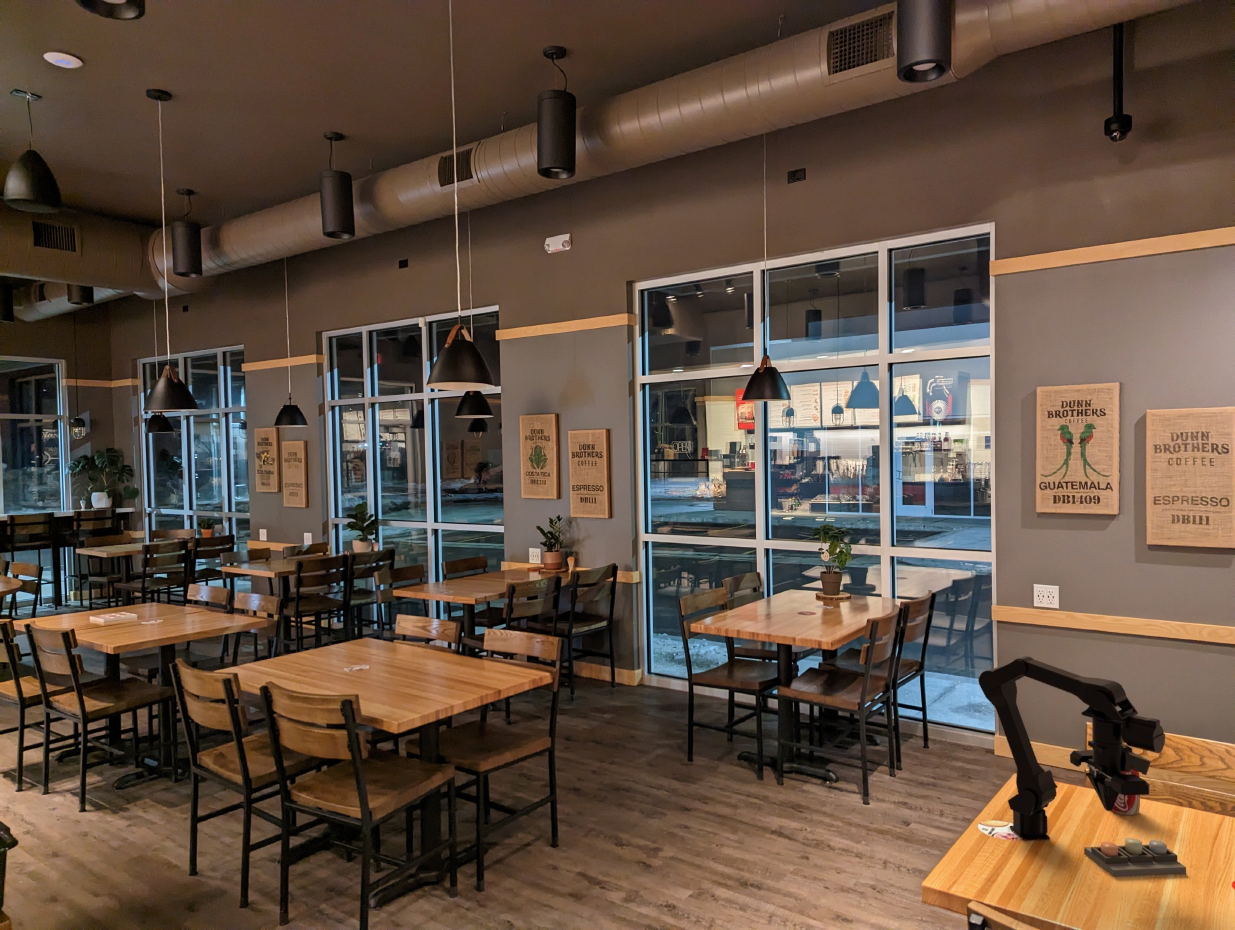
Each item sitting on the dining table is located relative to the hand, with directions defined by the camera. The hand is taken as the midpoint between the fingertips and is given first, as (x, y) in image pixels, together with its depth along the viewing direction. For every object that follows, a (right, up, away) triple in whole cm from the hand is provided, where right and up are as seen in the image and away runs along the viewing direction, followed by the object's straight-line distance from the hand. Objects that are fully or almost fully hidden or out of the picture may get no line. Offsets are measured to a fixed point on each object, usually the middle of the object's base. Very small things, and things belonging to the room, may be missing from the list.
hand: (1108, 810), depth 176 cm
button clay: (0, -10, 0) cm, 10 cm away
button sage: (+6, -9, 0) cm, 11 cm away
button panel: (+6, -12, 0) cm, 13 cm away
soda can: (+20, -12, +26) cm, 34 cm away
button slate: (+11, -10, 0) cm, 15 cm away
